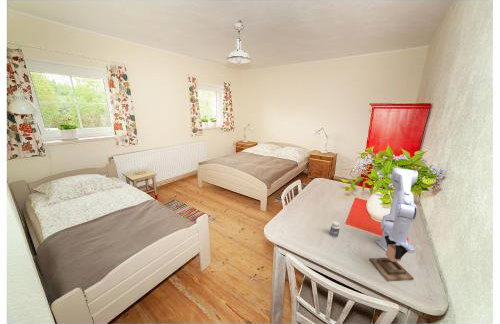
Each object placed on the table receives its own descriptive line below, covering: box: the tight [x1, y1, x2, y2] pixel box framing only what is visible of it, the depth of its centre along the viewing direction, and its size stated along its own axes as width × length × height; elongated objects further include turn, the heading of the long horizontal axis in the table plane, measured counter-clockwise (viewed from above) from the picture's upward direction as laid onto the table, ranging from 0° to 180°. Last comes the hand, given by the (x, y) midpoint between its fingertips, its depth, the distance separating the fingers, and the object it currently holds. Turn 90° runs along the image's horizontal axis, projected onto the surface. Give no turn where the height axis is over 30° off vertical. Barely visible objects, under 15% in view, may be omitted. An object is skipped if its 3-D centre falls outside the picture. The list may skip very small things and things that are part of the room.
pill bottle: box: [329, 220, 341, 238], centre depth 113 cm, size 5×5×8 cm
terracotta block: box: [385, 244, 402, 262], centre depth 87 cm, size 4×4×6 cm
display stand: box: [368, 257, 414, 282], centre depth 89 cm, size 12×12×3 cm
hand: (393, 254), depth 87 cm, fingers closed on terracotta block, 4 cm apart
